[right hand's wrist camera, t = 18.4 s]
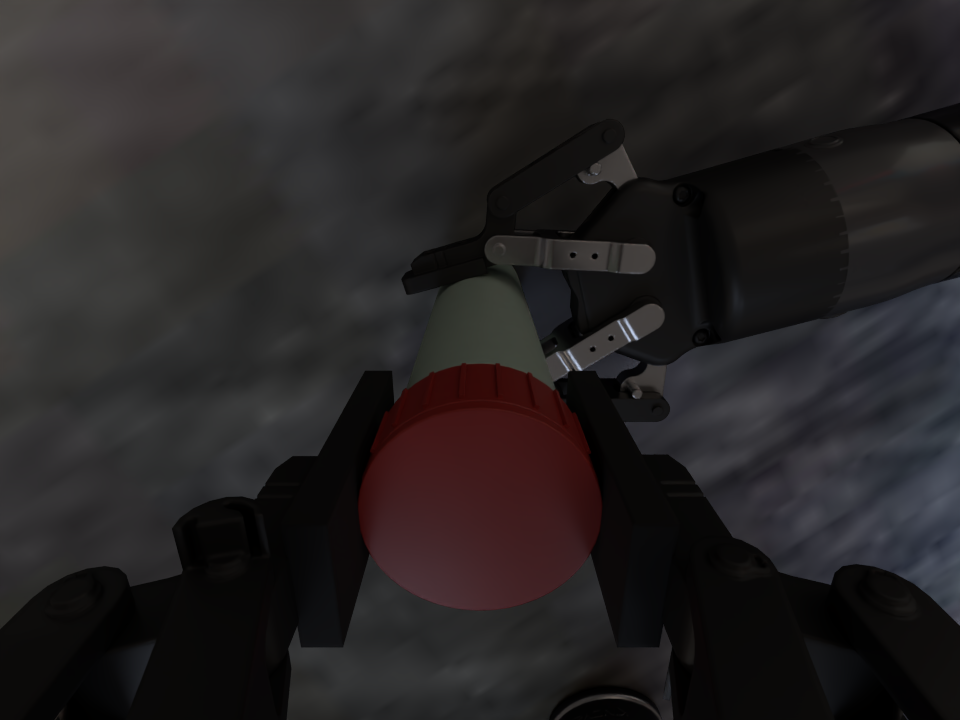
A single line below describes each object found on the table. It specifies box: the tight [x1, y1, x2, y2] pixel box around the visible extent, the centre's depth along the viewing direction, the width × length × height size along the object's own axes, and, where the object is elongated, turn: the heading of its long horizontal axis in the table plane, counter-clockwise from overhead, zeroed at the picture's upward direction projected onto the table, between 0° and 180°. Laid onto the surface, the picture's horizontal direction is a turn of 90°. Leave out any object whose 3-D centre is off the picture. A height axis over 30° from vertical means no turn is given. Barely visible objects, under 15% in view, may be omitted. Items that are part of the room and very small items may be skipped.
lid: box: [358, 363, 602, 611], centre depth 11 cm, size 5×5×2 cm
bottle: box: [407, 265, 555, 391], centre depth 20 cm, size 4×4×19 cm
